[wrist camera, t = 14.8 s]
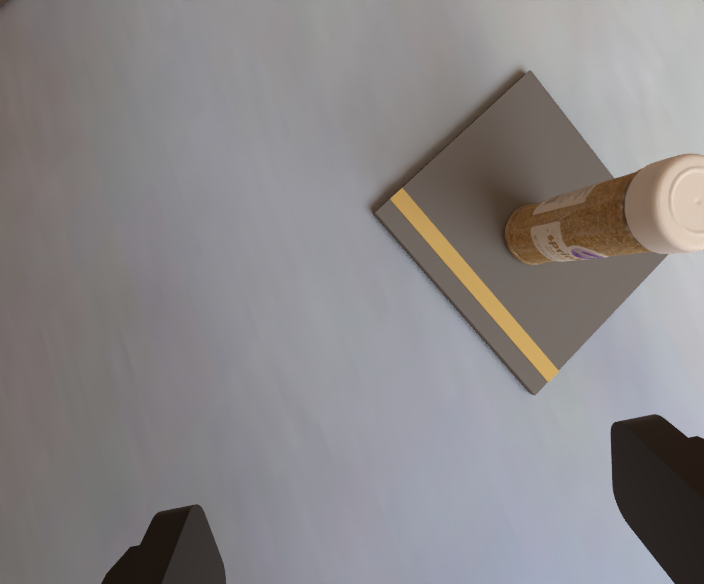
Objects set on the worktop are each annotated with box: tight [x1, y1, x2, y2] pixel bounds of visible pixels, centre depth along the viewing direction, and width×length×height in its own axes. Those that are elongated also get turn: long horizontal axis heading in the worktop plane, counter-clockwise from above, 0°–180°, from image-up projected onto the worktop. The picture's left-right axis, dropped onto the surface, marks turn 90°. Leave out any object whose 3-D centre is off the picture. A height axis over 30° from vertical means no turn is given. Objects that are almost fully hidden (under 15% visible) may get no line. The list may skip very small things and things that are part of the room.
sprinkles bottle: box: [505, 154, 704, 265], centre depth 28 cm, size 5×5×13 cm
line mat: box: [374, 70, 668, 395], centre depth 34 cm, size 18×16×1 cm
